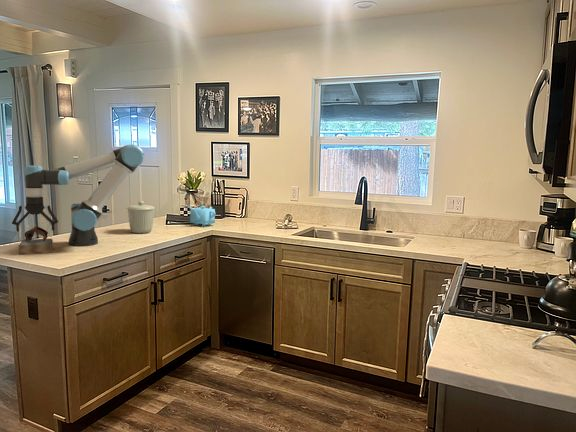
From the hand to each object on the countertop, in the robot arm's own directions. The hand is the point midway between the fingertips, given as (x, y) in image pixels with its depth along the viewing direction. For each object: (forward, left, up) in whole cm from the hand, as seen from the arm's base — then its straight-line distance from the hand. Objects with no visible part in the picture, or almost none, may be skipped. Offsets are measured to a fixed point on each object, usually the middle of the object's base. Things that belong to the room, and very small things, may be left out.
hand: (36, 237), depth 217 cm
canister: (-57, -43, -8) cm, 72 cm away
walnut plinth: (0, 0, -7) cm, 7 cm away
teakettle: (-103, -63, -8) cm, 121 cm away
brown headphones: (+1, -2, -2) cm, 3 cm away
